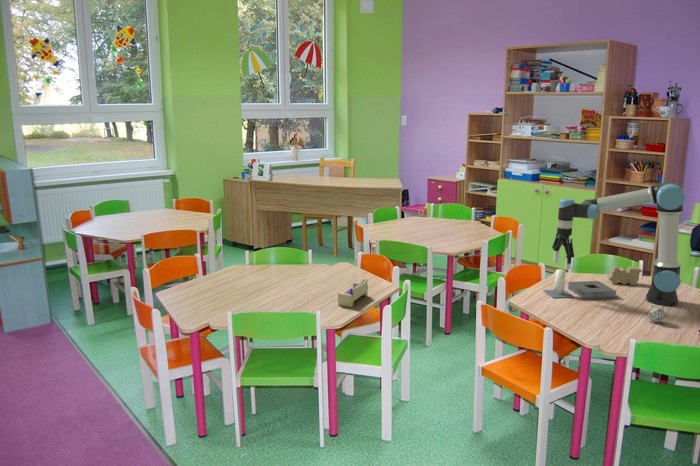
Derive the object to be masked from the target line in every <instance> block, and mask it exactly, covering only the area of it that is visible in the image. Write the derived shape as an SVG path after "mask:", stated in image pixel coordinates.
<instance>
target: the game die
mask: <svg viewBox="0 0 700 466" xmlns="http://www.w3.org/2000/svg"><path fill="white" fill-rule="evenodd" d="M664 308H665V307H664V306H662V307H657V306H653V305H651V308H650V310H649V312H647V313H646V315H648V317H649V319H650V323H652V322H653V323H661V325H663V324H664V323H663V322H664V320H665V319H666V317H668V316H669V315H668V314H666V312H665V310H664Z"/></svg>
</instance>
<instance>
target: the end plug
mask: <svg viewBox="0 0 700 466" xmlns="http://www.w3.org/2000/svg"><path fill="white" fill-rule="evenodd" d="M554 276H555V277H554V288H553V290H554V294H557V295H563V294H564V290H565V282H566V269H559V268H558V269H556V270H555V275H554Z"/></svg>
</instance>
